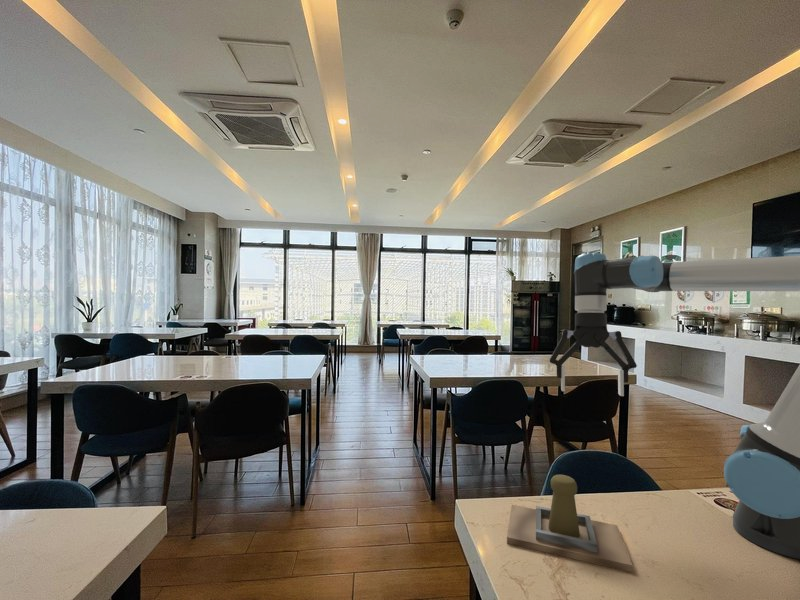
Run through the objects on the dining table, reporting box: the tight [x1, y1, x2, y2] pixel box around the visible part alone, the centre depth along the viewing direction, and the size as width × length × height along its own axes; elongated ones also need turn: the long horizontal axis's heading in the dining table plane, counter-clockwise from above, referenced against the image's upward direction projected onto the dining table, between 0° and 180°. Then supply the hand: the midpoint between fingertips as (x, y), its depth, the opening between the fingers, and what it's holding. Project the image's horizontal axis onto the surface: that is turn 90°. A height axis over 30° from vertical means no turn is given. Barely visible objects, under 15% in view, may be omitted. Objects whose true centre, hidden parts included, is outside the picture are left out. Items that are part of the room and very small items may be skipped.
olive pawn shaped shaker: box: [549, 474, 580, 538], centre depth 76 cm, size 6×6×11 cm
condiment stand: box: [506, 504, 634, 573], centre depth 76 cm, size 22×14×3 cm, turn 69°
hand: (591, 392), depth 95 cm, fingers open, 13 cm apart
